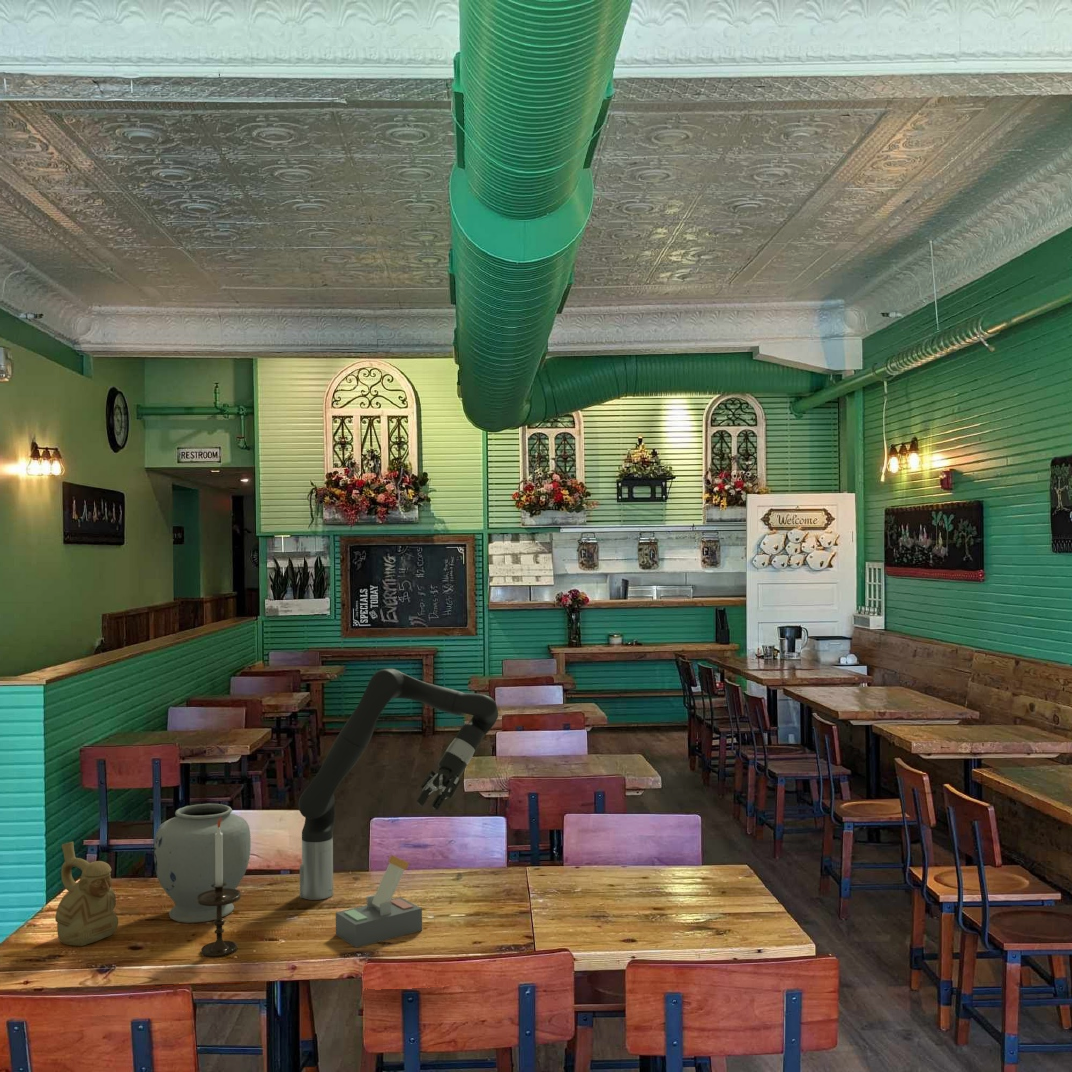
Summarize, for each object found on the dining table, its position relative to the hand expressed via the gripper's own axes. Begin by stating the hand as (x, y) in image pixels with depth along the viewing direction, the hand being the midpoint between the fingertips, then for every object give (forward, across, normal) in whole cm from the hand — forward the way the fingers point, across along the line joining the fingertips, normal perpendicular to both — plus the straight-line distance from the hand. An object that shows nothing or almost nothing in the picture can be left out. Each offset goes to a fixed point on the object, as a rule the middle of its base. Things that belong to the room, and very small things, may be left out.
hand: (426, 806), depth 285 cm
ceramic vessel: (+75, -46, -43) cm, 98 cm away
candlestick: (+60, -14, -22) cm, 65 cm away
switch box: (+34, 0, +8) cm, 35 cm away
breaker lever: (+29, 0, +4) cm, 29 cm away
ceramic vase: (+55, -46, -18) cm, 74 cm away
